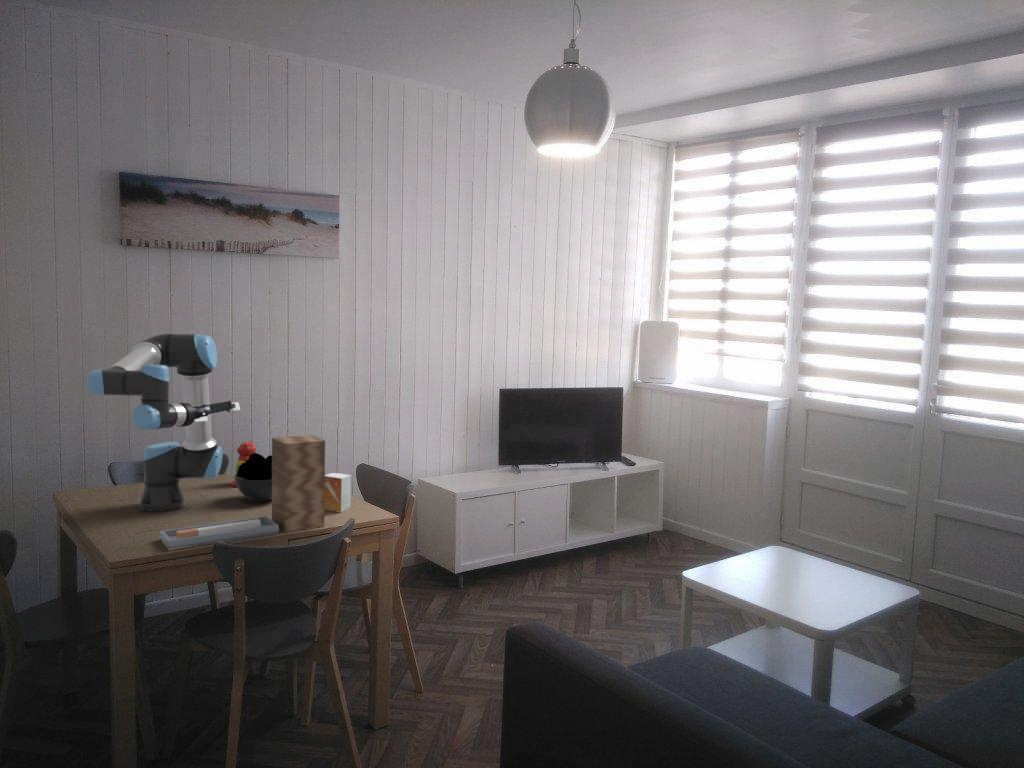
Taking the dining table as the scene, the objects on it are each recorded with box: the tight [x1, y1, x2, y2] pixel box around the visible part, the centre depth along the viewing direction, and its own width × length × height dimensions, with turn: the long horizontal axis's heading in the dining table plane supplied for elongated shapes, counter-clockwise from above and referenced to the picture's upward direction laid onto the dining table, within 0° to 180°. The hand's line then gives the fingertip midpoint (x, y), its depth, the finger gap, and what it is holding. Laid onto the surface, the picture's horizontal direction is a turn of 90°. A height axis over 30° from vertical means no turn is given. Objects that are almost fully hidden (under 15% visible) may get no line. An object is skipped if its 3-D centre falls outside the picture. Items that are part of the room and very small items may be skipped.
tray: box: [159, 515, 280, 549], centre depth 248 cm, size 34×12×3 cm, turn 127°
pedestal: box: [271, 434, 326, 533], centre depth 262 cm, size 14×12×30 cm
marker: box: [176, 519, 260, 539], centre depth 248 cm, size 26×3×3 cm, turn 129°
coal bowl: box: [233, 452, 272, 502], centre depth 293 cm, size 20×20×19 cm
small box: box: [324, 472, 352, 513], centre depth 284 cm, size 8×6×13 cm
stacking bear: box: [230, 440, 257, 487], centre depth 316 cm, size 11×10×18 cm
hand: (222, 411), depth 260 cm, fingers open, 13 cm apart
